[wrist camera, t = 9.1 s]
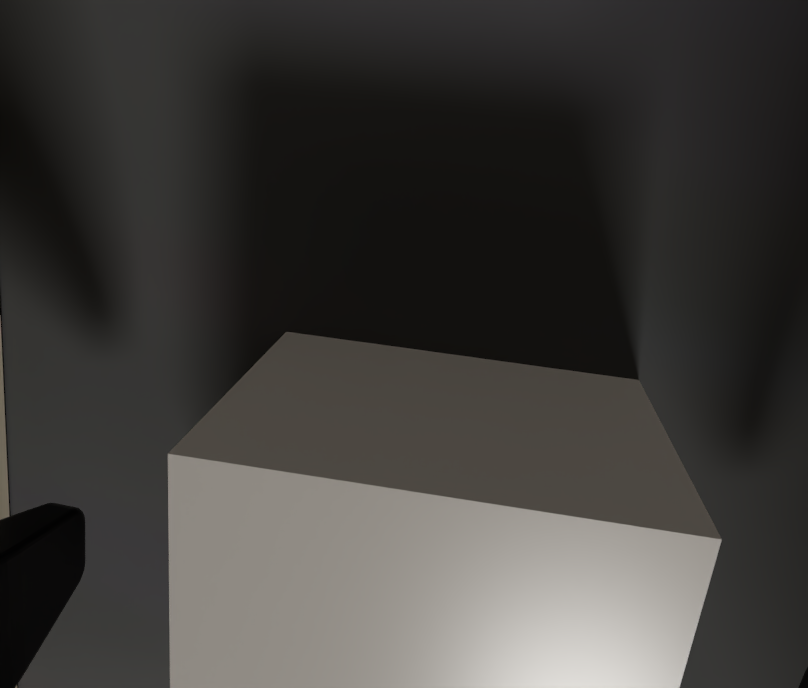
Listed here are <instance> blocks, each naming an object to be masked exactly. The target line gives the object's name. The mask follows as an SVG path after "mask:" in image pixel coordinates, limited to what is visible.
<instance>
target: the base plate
mask: <svg viewBox="0 0 808 688" xmlns="http://www.w3.org/2000/svg"><path fill="white" fill-rule="evenodd" d="M7 517H9V494H8V471H7V449H6V427H5V405H4V383H3V361H2V339H1V317H0V520H1V519H4V518H7ZM15 688H17V685H16V687H15Z"/></svg>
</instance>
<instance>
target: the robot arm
mask: <svg viewBox="0 0 808 688" xmlns="http://www.w3.org/2000/svg"><path fill="white" fill-rule="evenodd" d="M84 567H85V517H84V514H83V512H82V511H81V510H80V509H79V508H76V507H71V506H66V505H61V504H57V503H48V504H44V505H41V506H39V507H36V508H33V509H30V510H27V511H24V512H21V513H18V514H15V515H12V516H9V517H7V518H4V519H1V520H0V688H15V687H16V685H17V684H18V682H19V681H20V679H21V678H22V676H23V675H24V673H25V671H26V670H27V668H28V666H29V665H30V663H31V661H32V660H33V658H34V657H35V655H36V653H37V652H38V650H39V648H40V647H41V645H42V643H43V642H44V640H45V638H46V637H47V635H48V633H49V632H50V630H51V628H52V627H53V625H54V623H55V622H56V620H57V618H58V617H59V615H60V613H61V612H62V610H63V609H64V607H65V605H66V604H67V602H68V600H69V599H70V597H71V595H72V594H73V592H74V590H75V589H76V587H77V585H78V584H79V582H80V580H81V577H82V575H83V571H84ZM798 688H808V668H807V669H806V671H805V673H804V676H803V678H802V680H801V683H800V685H799V687H798Z"/></svg>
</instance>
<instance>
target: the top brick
mask: <svg viewBox="0 0 808 688" xmlns="http://www.w3.org/2000/svg"><path fill="white" fill-rule="evenodd" d="M168 519H169V623H170V688H679V687H680V684H681V680H682V677H683V673H684V670H685V666H686V663H687V659H688V656H689V652H690V649H691V645H692V642H693V638H694V635H695V631H696V628H697V624H698V621H699V617H700V614H701V610H702V607H703V603H704V600H705V596H706V593H707V589H708V586H709V582H710V579H711V575H712V572H713V568H714V565H715V561H716V558H717V554H718V551H719V548H720V544H721V541H722V539H721V537H720V535H719V533H718V531H717V529H716V527H715V525H714V524H713V522H712V520H711V518H710V516H709V514H708V512H707V510H706V508H705V506H704V504H703V502H702V501H701V499H700V497H699V495H698V493H697V491H696V489H695V487H694V485H693V483H692V481H691V479H690V477H689V476H688V474H687V472H686V470H685V468H684V466H683V464H682V462H681V460H680V458H679V456H678V454H677V453H676V451H675V449H674V447H673V445H672V443H671V441H670V439H669V437H668V435H667V433H666V431H665V429H664V428H663V426H662V424H661V422H660V420H659V418H658V416H657V414H656V412H655V410H654V408H653V406H652V404H651V403H650V401H649V399H648V397H647V395H646V393H645V391H644V389H643V387H642V385H641V383H640V381H639V380H635V379H628V378H621V377H613V376H606V375H599V374H592V373H584V372H577V371H570V370H562V369H555V368H548V367H540V366H533V365H526V364H519V363H511V362H504V361H497V360H489V359H482V358H475V357H468V356H460V355H453V354H446V353H438V352H431V351H424V350H416V349H409V348H402V347H395V346H387V345H380V344H373V343H365V342H358V341H351V340H343V339H336V338H329V337H322V336H314V335H307V334H300V333H292V332H286V333H285V334H284V335H283V336H282V337H281V338H280V339H279V340H278V341H277V342H276V343H275V344H274V345H273V346H272V347H271V348H270V349H269V350H268V351H267V352H266V353H265V354H264V355H263V356H262V357H261V358H260V359H259V360H258V361H257V362H256V363H255V364H254V366H253V367H252V368H251V369H250V370H249V371H248V372H247V373H246V374H245V375H244V376H243V377H242V378H241V379H240V380H239V381H238V382H237V383H236V384H235V385H234V386H233V387H232V388H231V389H230V390H229V391H228V392H227V393H226V394H225V395H224V396H223V397H222V398H221V399H220V401H219V402H218V403H217V404H216V405H215V406H214V407H213V408H212V409H211V410H210V411H209V412H208V413H207V414H206V415H205V416H204V417H203V418H202V419H201V420H200V421H199V422H198V423H197V424H196V425H195V426H194V427H193V428H192V429H191V430H190V431H189V432H188V433H187V434H186V436H185V437H184V438H183V439H182V440H181V441H180V442H179V443H178V444H177V445H176V446H175V447H174V448H173V449H172V450H171V451H170V452H169V453H168Z"/></svg>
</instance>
